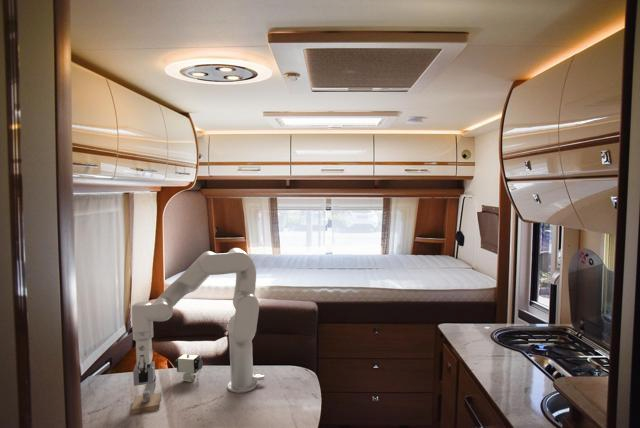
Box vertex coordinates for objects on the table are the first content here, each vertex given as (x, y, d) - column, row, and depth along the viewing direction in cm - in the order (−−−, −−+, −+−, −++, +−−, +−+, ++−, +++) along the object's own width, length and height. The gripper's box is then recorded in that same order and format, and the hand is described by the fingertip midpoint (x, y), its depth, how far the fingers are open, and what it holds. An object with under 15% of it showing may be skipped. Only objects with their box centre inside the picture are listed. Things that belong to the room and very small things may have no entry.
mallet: (164, 378, 185) (164, 367, 185) (159, 409, 159) (158, 395, 159) (141, 382, 182) (140, 370, 182) (131, 414, 156) (130, 400, 156)
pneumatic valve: (198, 383, 180) (197, 357, 179) (174, 382, 182) (173, 355, 181) (204, 378, 185) (203, 352, 184) (181, 376, 187) (180, 350, 187)
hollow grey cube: (155, 375, 166) (154, 361, 166) (153, 383, 160) (152, 368, 159) (136, 378, 164) (135, 363, 164) (133, 385, 158) (133, 370, 157)
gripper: (150, 340, 154) (152, 386, 155) (155, 326, 170) (157, 367, 171) (129, 342, 152) (131, 389, 153) (136, 327, 168) (137, 370, 169)
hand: (144, 377), depth 162 cm, fingers closed on hollow grey cube, 7 cm apart
